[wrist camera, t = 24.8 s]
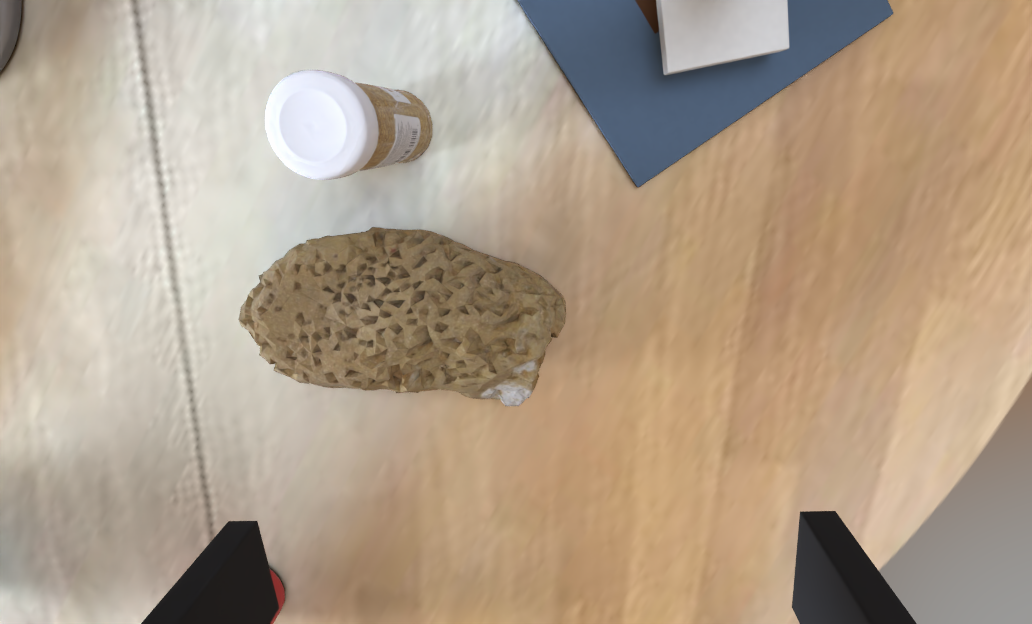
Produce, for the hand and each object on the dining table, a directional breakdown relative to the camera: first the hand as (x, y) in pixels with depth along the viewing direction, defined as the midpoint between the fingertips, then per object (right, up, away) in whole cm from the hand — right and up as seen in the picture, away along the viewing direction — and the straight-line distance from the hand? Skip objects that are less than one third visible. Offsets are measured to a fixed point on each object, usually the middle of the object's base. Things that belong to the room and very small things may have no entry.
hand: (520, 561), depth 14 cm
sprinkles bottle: (-8, +18, +23) cm, 30 cm away
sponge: (-8, +6, +27) cm, 29 cm away
